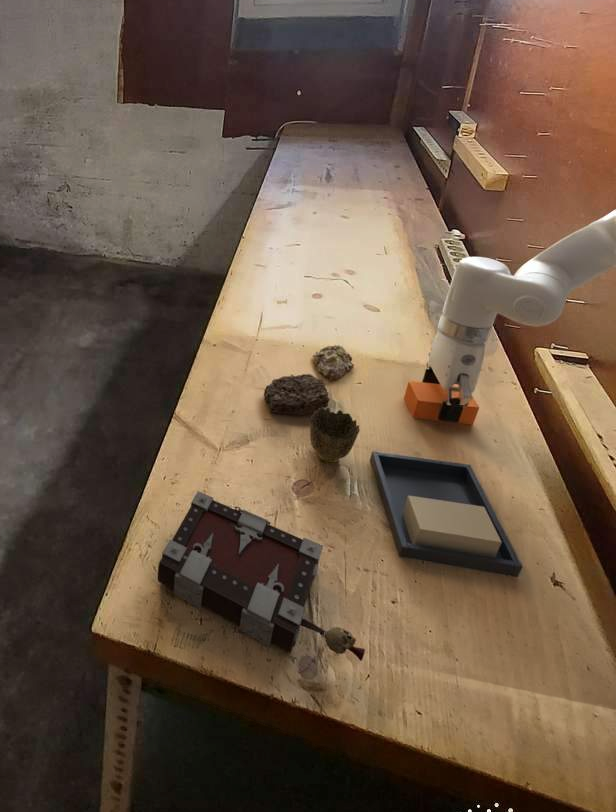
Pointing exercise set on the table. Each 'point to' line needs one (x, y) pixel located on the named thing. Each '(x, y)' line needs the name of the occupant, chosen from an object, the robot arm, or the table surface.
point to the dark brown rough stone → (296, 394)
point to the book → (246, 573)
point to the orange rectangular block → (434, 402)
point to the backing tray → (437, 483)
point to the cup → (332, 434)
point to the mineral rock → (333, 361)
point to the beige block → (450, 526)
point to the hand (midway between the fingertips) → (438, 403)
